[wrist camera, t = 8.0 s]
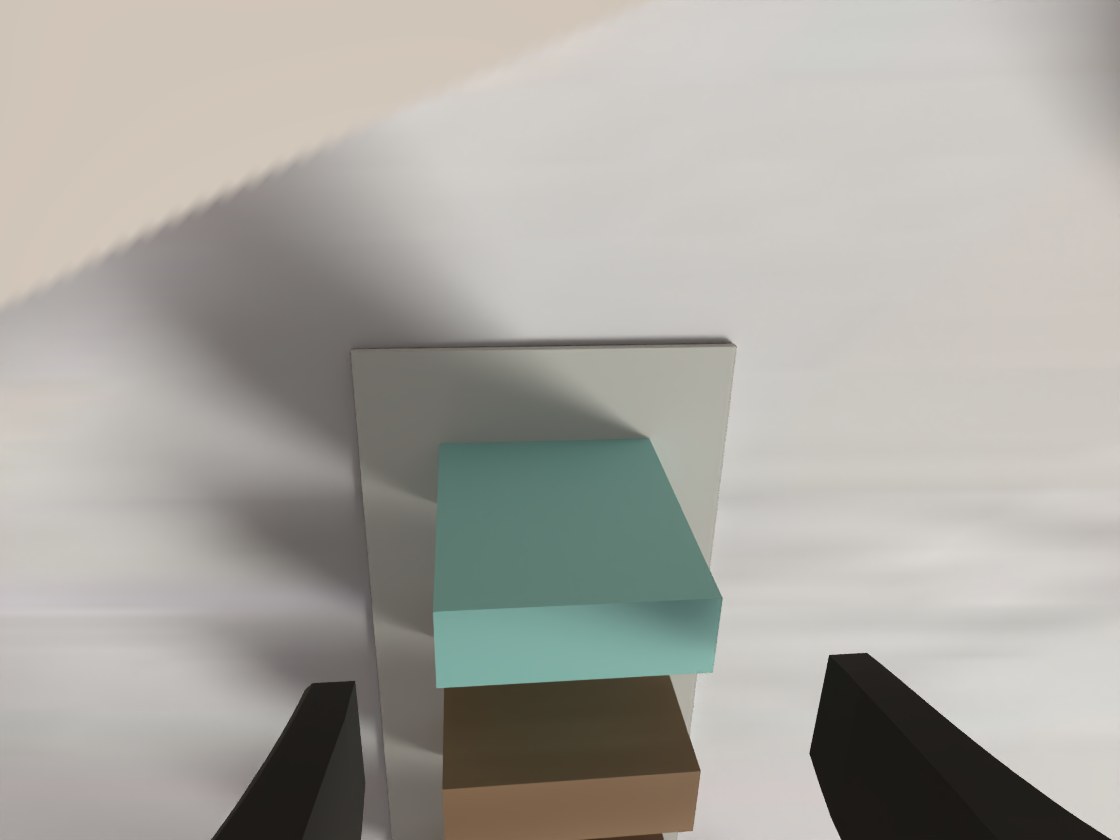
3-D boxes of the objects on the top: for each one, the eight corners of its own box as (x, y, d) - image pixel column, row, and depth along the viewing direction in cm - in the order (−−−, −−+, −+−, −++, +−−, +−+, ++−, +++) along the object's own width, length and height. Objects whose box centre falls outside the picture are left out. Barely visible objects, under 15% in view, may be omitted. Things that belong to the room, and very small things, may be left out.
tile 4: (634, 631, 22) (693, 831, 17) (447, 641, 22) (444, 850, 16) (639, 580, 21) (700, 771, 16) (445, 589, 21) (441, 789, 15)
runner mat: (660, 963, 28) (661, 969, 28) (405, 988, 28) (404, 994, 27) (734, 343, 19) (737, 347, 19) (351, 349, 18) (350, 352, 18)
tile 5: (644, 497, 20) (712, 672, 15) (441, 505, 20) (436, 688, 14) (649, 438, 20) (723, 597, 14) (439, 443, 19) (432, 611, 14)
